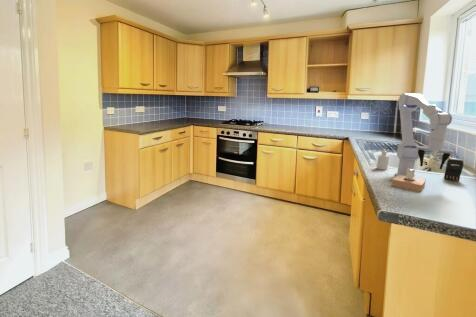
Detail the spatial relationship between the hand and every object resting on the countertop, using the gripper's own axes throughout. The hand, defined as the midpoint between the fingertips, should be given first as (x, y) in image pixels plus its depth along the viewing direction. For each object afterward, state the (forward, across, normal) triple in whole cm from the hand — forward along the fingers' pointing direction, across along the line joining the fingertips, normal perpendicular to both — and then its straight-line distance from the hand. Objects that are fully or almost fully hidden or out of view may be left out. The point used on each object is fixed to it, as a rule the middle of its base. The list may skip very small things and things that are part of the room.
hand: (430, 167), depth 134 cm
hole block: (+9, -7, -6) cm, 13 cm away
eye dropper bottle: (+10, -25, +19) cm, 33 cm away
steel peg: (+9, -7, -6) cm, 13 cm away
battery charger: (+10, +8, +23) cm, 26 cm away
